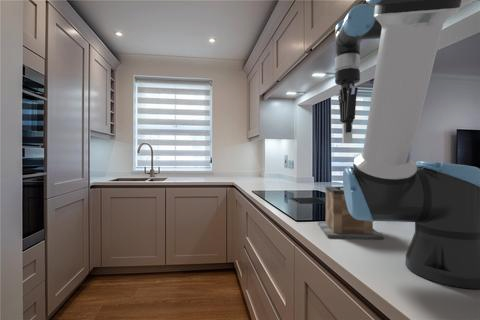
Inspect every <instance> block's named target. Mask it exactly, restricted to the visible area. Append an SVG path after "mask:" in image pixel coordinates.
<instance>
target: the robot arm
mask: <svg viewBox="0 0 480 320" xmlns="http://www.w3.org/2000/svg"><path fill="white" fill-rule="evenodd" d="M365 1H366V3H367V4H366V3H359V4H357V5H354V6H353V7H352V8H351V9H350V10H349V11H348V12H347V14H346V16H345V17H344V19H341V20H339V22H338V23H337V24H336V25H335V30H334V32H335V33H334V44H335V45H334V52H335V53H334V54H335V55H334V71H335V73H334V83H335V84H336V85H338V86H341V87H340V89H339V95H338V96H337V97H338V105H339V117H340V118H339V119H340V120H339V121H340V123H341V124H342V126H341V127H342V131H341V132H342V133H341V134H342V138H341V139H342V144H352V143H353V122H354V120H355V119H356V107H357V95H358V90H359V88H358V87H355V84H357V83H359V82H360V80H361V70H360V68H361V63H362V59H361V52H360V51H361V42H362V41H363V40H365V41H367V40H376V39H377V40H378V39H379V44H378V45H379V46H378V51H377V59H376V66H375V71H374V76H373V84H372V85H373V86H372V90H371V97H370V103H369V112H368V118H367V123H366V131H365V138H364V143H363V144H364V145H363V151H362V152H360V153H358V154H357V155H356V156H355V157H354V159H353V167H351V166H348V167H345V168H344V169H343V172H342V187H343V188H344V195H345V200H346V205H347V208H348V211H349V213H350V215H351V216H352V217H353V218H354V219H357V220H365V221H371V222H373V223H374V222H396V223H397V222H398V223H399V222H400V223H414V234H412V239H411V241H410V242H409V246H408V248H407V251H406V253H405V266H406V268H408V270H409V271H411V272H412V273H414V274H416V275H418V276H419V277H421V278H424V279H427V280H429V281H433V282H436V283H438V284H442V285H446V286H450V287H451V286H452V287H456V288H464V289H472V290H473V289H474V290H480V168H479V167H477V166H472V165H471V166H470V165H466V164H456V163H448V162H447V163H446V162H439V161H438V162H436V161H424V160H418V161H417V160H416V162H415V161H414V160H412V155H413V150H414V147H415V142H416V138H417V134H418V129H419V125H420V122H421V121H420V120H421V117H422V113H423V110H424V109H423V108H424V106H425V105H424V104H425V101H426V96H427V93H428V92H427V91H428V89H429V86H430V80H431V75H432V72H433V69H434V68H433V67H434V65H435V59H436V55H437V52H438V48H439V44H440V39H441V35H442V31H443V27H444V24H445V22H447V21H448V20H449V19H450V18H451V17H452V16H454V15H455V14H456V13H457V12H459V10H460V9H461V8H462V7H465V6H466V5H469V4H471V3H472V2H473V3H474V2H480V0H365ZM372 6H374V7H372Z"/></svg>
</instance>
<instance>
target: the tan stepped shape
mask: <svg viewBox="0 0 480 320" xmlns="http://www.w3.org/2000/svg"><path fill="white" fill-rule="evenodd" d="M340 188H343V186H325V221H318V222H317V225H318V226H319V228H320V230H321V231H322V232H323V233H324V235H325V236H326V238H327V239H350V240H351V239H353V240H356V239H357V240H359V239H360V240H384V235H383V234H381V233H380V232H378V231H377V230H375V228H373V227H374V224H373V223H374V221H373V222H371V221H365V220H357V219H354V218H353V217H352V216H351V215H350V213H349V211H348V208H347V205H346V200H345V195H344V190H340Z"/></svg>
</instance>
